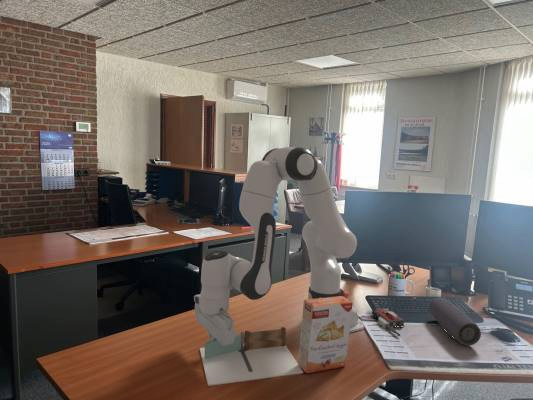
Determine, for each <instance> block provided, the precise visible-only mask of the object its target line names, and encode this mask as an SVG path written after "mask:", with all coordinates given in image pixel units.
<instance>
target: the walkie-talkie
mask: <svg viewBox="0 0 533 400" xmlns="http://www.w3.org/2000/svg"><path fill="white" fill-rule="evenodd" d="M389 310H390V309H388V308H387V307H384V308H375V310H374V311H375V312H376V313H378V315H379V316H380V317H378V316H377V315H376V314H375V313H374V312H373V311H372V312H371V314H372V315H373V316H376V317H377V318H378V319H377V318H376V317H375V318H376V319H377V320H378V324H379V325H380V326H381V325H382V326H383V327H384V328H383V327H382V326H381V327H382V328H383V329H388V330H389V331H391V332H392V333H393V334H395V335H396V336H398V337H401V334H400V333H399V332H398V331H396V329H395V328H393V327H395V326H396V327H397V326H399V327H398V328H400V327H401V326H404V325H405V320H404V319H403V318H401V317H399V316H398V314H397V313H395V312H394V311H391V310H390V311H389Z"/></svg>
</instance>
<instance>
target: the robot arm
mask: <svg viewBox="0 0 533 400" xmlns="http://www.w3.org/2000/svg"><path fill="white" fill-rule="evenodd" d="M327 172H328V171H327V170H326V168H325V166H324V164H323V162H322V161H321V160H320V159H318V158H316V157H315V155H314V153H312V151H310V149H307V148H305V147H301V146H300V147H299V146H298V147H295V146H284V147H281V148H278V147H277V148H273V149H271V150H269V151H267V152H265V154H264V156H263V157H262V158H261V160H257V161H255V162H253V163H252V164H251V166H250V167H249V169H248V171H247V174H246V177H245V179H244V181H243V184H242V185H243V186H242V190H241V191H240V197H239V202H238V203H239V204H238V205H239V206H238V207H239V212H240V214H241V216H242V217H243V219H244V220H246V222H247V223H248V225H250V227H251V229H252V230H253V235H254V246H253V254H252V261H251V262H250V261H249V260H247V259H244V258H242V257H239V256H238V257H237V256H234V255H232V254H231V253H229V252H227V251H225V250H221V249H219V250H212V251H210V252H208V253H207V254H206V255H204V257H203V260H202V264H201V272H200V273H201V274H200V283H201V291H200V294H195V295H194V296H193V301H194V303H195V304H194V316H195V321H196V322H197V323H198V324H199V325H200V326H202V328H204V329H205V330H206V331H207V334H208V338H209V341H211V340H216V339H217V340H218V341H219V342H220V343H221V344H222V345H224V346H225V345H229V344H232V343H233V342H234V341H235V335H236V334H235V333H236V332H235V331H236V330H235V322H234V319H233V318H232V316H231V314H230V313H229V309H230V292H231V290H235V291H238V292H240V293H241V294H242V295H243V296H245V297H246V298H248V299H249V300H252V301H257V300H261V298H263V297H265V296H266V295H267V294H268V293H269V292H270V290H271V288H272V284H273V273H272V270H273V269H272V268H273V267H272V265H273V258H274V257H273V256H274V250H275V249H274V247H275V240H276V232H277V231H276V230H277V229H276V228H277V222H276V218H275V215H274V207H275V200H276V196H277V191H278V187H279V186H280V184H281V182H282V181H285V182H286V181H296V182H297V184H298V191H299V194H300V196H301V201H302V205H303V209H304V212H305V215H306V216H307V217H308V218H309V219H310V220H309V221H307V222H306V223H305V224H304V226H303V227H302V229H301V230H302V231H301V238H302V239H303V241H304V243H305V245H306V249H307V253H308V258H309V259H308V260H309V264H310V277H309V278H310V281H309V286H308V294H307V299H316V298H327V297H337V296H343V297H344V298H346V299H348V298H349V297H350V293H348V292H347V291H346V290H345V291H344V289H342V288H341V279H342V277H341V276H342V269H341V266H340V265H339V263H338V261H337V258H338V259H348V258H349V257H351V256H352V255H353V254H355V252H356V249H357V246H358V240H357V237H356V235H355V234H354V233H353V232H352V231H351V230H350V229H349V227H348V226H347V224H346V222H345V221H344V218H343V217H342V214H341V213H340V212H339V209H338V206H337V204H336V201H335V200H336V199H335V196H334V194H333V193H334V192H333V190H332V189H333V188H332V186H331V181H330V177H329V175H328V173H327ZM364 328H365V325H364V322H363V321H362V320H361V319H360V318H359V314H358V311H357V309H356V308H355V307H354V306H353V305H352V313H351V322H350V330H349V334H351V333H354V332H358V331H362V330H364Z"/></svg>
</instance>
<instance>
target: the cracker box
mask: <svg viewBox="0 0 533 400" xmlns="http://www.w3.org/2000/svg"><path fill="white" fill-rule="evenodd" d="M352 306H353V302H352V301H351V300H349V299H348V298H345V297H344V296H337V297H327V298H316V299H308V298H307V299H304V300H303V306H302V316H301V318H302V319H301V327H300V338H299V350H298V360H297V363H298V365H299V366H300V368H301V369H302V371H303V372H304V373H306V375H307V374H311V373H315V372H316V373H317V372H321V371H327V370H332V369H338V368H343V367H346V363H347V354H348V345H349V338H350V336H349V335H350V333H349V330H350V322H351V313H352Z"/></svg>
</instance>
